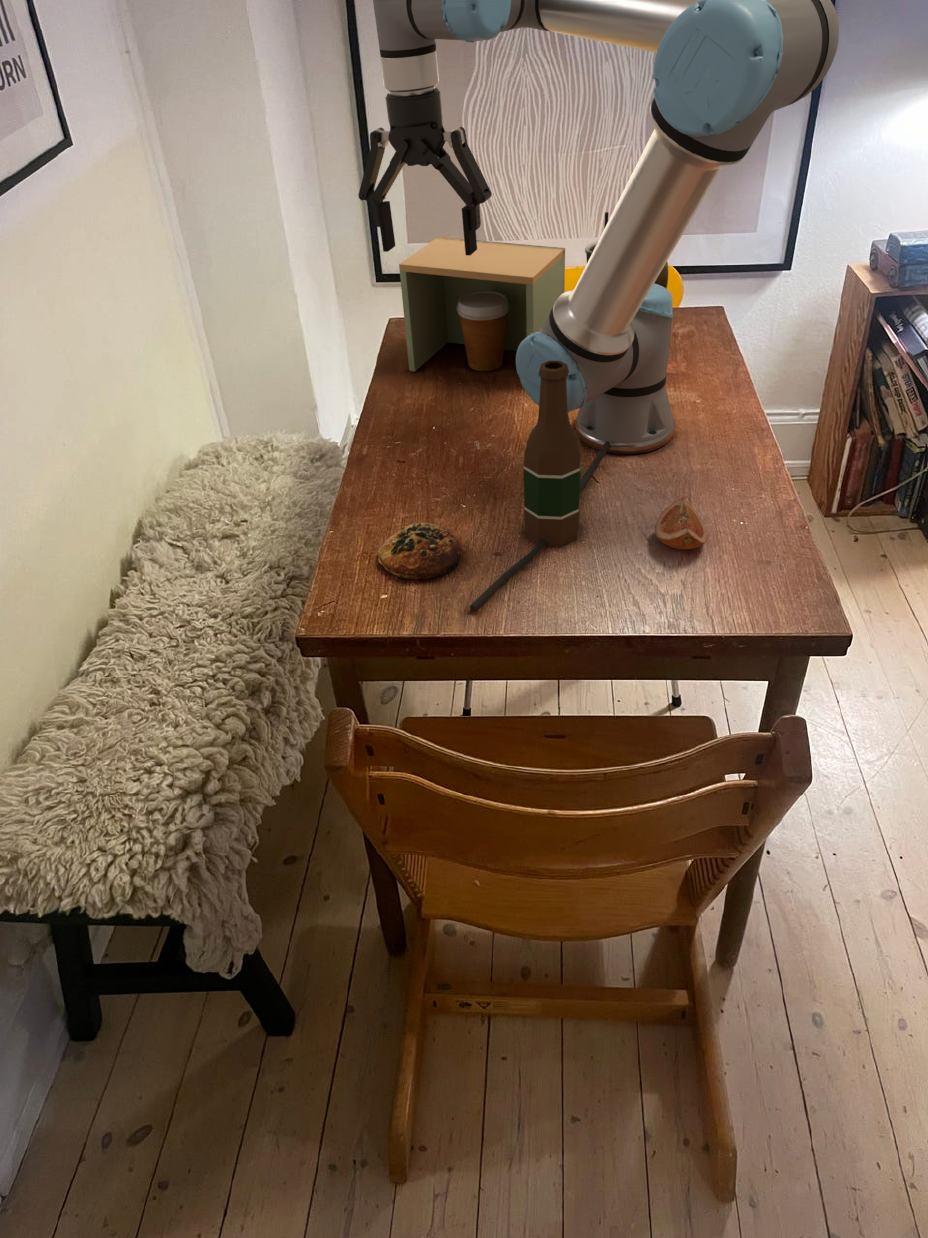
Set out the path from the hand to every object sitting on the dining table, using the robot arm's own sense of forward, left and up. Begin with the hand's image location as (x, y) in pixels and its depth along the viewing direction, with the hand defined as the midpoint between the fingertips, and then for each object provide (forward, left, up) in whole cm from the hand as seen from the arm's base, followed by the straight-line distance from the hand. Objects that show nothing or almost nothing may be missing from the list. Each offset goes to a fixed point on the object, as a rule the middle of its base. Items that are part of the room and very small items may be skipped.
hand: (429, 250), depth 137 cm
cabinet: (+20, -3, -26) cm, 33 cm away
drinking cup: (+44, -21, -27) cm, 55 cm away
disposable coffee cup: (+20, -3, -27) cm, 33 cm away
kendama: (+29, -29, -27) cm, 48 cm away
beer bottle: (-32, -25, -27) cm, 49 cm away
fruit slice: (-32, -42, -27) cm, 59 cm away
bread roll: (-41, -9, -27) cm, 50 cm away
